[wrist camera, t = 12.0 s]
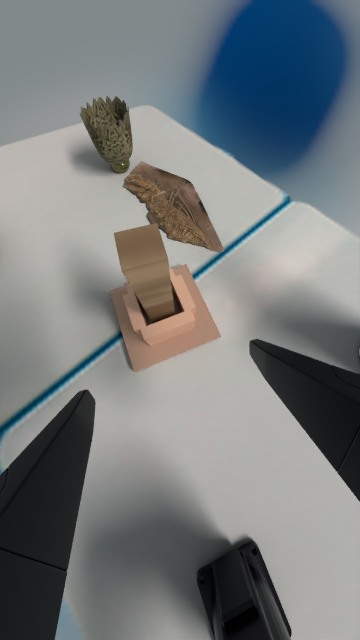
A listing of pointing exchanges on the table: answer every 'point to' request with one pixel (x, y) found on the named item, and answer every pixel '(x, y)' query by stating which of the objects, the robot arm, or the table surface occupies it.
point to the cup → (110, 131)
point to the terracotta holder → (164, 322)
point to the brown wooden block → (147, 269)
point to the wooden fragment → (173, 206)
